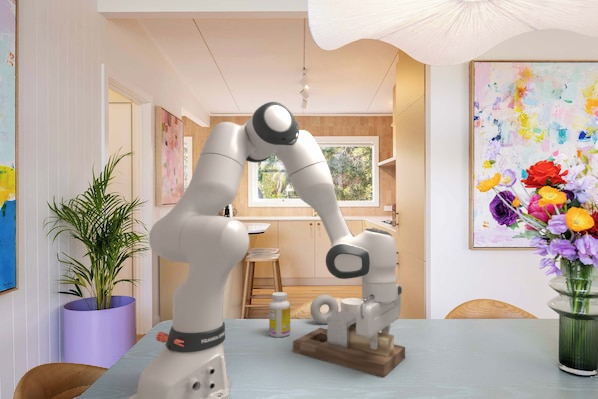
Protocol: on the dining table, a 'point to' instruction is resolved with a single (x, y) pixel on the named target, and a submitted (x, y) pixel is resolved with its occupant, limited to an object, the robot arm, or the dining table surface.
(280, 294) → the supplement bottle
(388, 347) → the gold bar
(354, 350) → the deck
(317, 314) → the donut
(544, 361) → the dining table surface
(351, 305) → the white cup
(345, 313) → the tunnel
